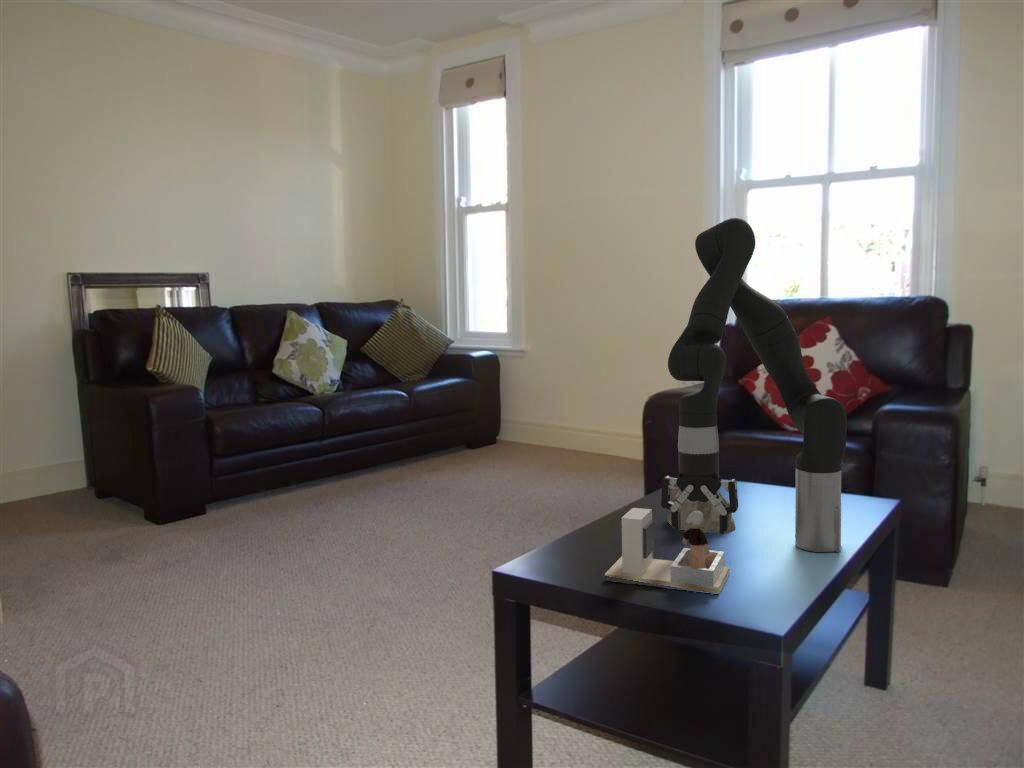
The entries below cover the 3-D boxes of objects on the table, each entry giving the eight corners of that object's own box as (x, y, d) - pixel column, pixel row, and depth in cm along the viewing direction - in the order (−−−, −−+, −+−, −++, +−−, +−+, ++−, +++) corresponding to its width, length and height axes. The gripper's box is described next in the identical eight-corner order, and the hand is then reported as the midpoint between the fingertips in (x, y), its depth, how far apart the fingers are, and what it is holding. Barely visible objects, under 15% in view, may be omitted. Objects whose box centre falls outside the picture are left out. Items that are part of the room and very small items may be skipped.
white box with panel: (655, 562, 161) (654, 509, 160) (645, 575, 154) (644, 519, 152) (633, 560, 163) (632, 507, 162) (622, 572, 155) (621, 517, 154)
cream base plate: (729, 574, 157) (729, 566, 157) (719, 595, 146) (719, 587, 146) (622, 562, 166) (622, 555, 166) (604, 581, 155) (604, 574, 155)
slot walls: (724, 566, 157) (724, 551, 157) (713, 586, 146) (713, 571, 146) (684, 562, 160) (683, 547, 160) (670, 581, 150) (670, 566, 149)
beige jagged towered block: (735, 534, 183) (732, 469, 183) (663, 533, 188) (661, 470, 187) (736, 520, 198) (734, 460, 198) (670, 519, 203) (667, 461, 202)
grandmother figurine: (720, 577, 151) (718, 512, 149) (706, 582, 148) (704, 516, 147) (689, 567, 157) (687, 505, 156) (676, 572, 155) (673, 509, 153)
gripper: (739, 446, 151) (740, 529, 153) (665, 443, 157) (667, 523, 158) (733, 453, 144) (734, 540, 146) (656, 450, 150) (658, 534, 152)
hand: (699, 531), depth 152 cm, fingers open, 8 cm apart
